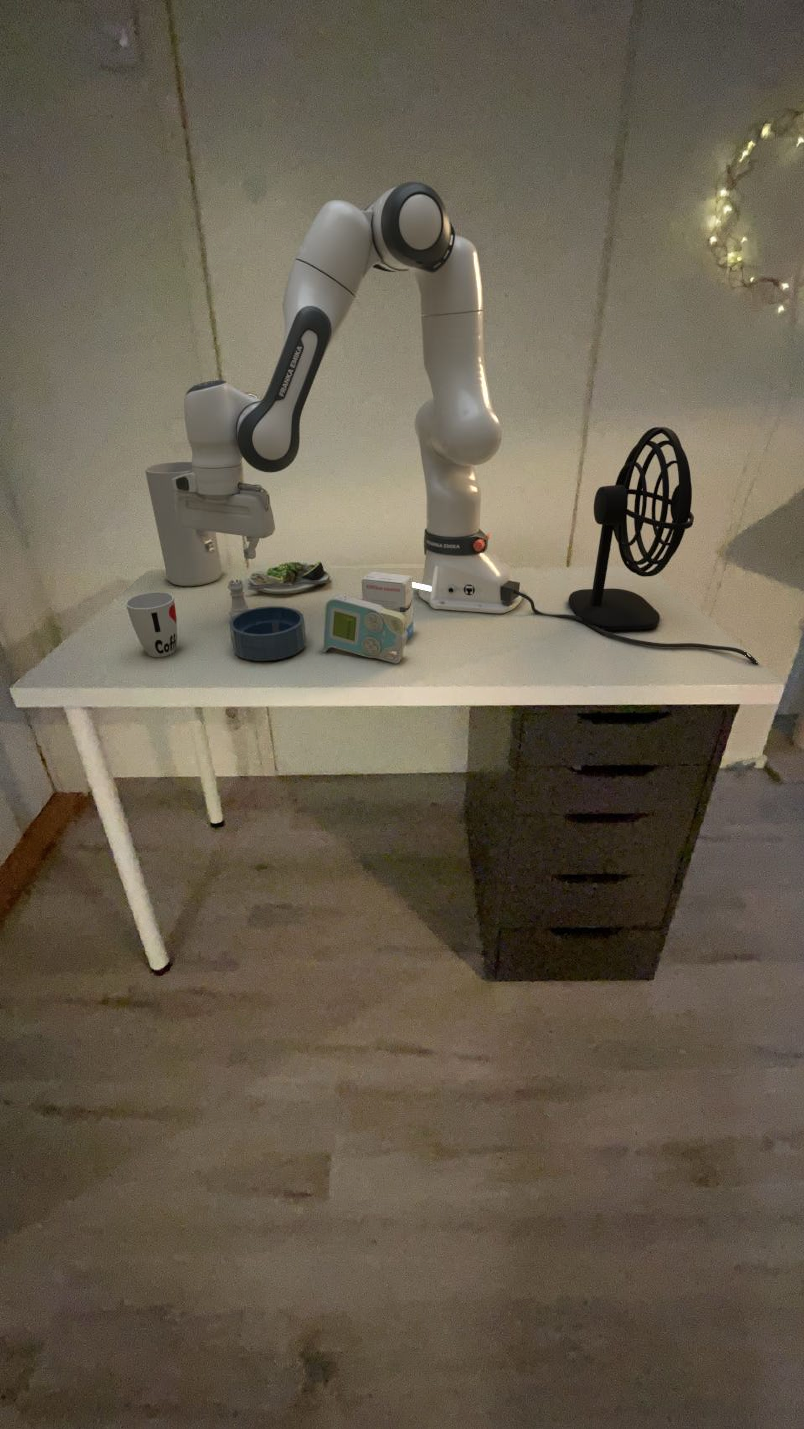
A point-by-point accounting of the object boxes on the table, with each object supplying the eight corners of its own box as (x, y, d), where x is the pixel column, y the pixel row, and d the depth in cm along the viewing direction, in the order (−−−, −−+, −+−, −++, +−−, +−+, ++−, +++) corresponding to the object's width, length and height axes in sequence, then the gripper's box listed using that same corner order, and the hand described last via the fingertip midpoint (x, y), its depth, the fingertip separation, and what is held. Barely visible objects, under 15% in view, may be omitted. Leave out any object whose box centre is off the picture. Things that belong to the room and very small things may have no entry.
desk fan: (687, 639, 122) (734, 439, 104) (595, 642, 122) (627, 442, 103) (634, 588, 146) (666, 417, 127) (557, 590, 145) (577, 419, 126)
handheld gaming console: (397, 675, 116) (321, 652, 119) (403, 668, 118) (328, 646, 122) (405, 618, 110) (325, 596, 113) (411, 612, 112) (332, 591, 115)
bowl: (319, 639, 125) (317, 612, 122) (281, 669, 114) (277, 640, 111) (260, 628, 129) (257, 602, 126) (218, 656, 119) (214, 628, 116)
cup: (158, 664, 116) (146, 612, 111) (128, 654, 120) (115, 603, 115) (193, 647, 122) (183, 597, 117) (163, 638, 126) (152, 589, 121)
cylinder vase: (222, 584, 151) (203, 471, 138) (165, 589, 148) (141, 474, 135) (222, 567, 161) (205, 460, 148) (170, 571, 159) (148, 463, 146)
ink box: (414, 633, 126) (413, 574, 120) (405, 643, 122) (405, 583, 116) (373, 627, 129) (370, 570, 123) (363, 637, 125) (360, 578, 119)
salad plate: (265, 606, 139) (263, 585, 136) (230, 583, 151) (227, 564, 149) (342, 586, 149) (341, 566, 146) (303, 566, 161) (301, 547, 159)
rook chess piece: (247, 624, 131) (241, 586, 127) (226, 622, 132) (220, 585, 128) (255, 615, 135) (250, 578, 131) (235, 614, 136) (229, 577, 131)
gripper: (277, 482, 118) (284, 557, 125) (186, 473, 125) (198, 544, 132) (257, 489, 113) (266, 567, 120) (164, 479, 120) (177, 553, 127)
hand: (230, 555), depth 126 cm, fingers open, 8 cm apart
